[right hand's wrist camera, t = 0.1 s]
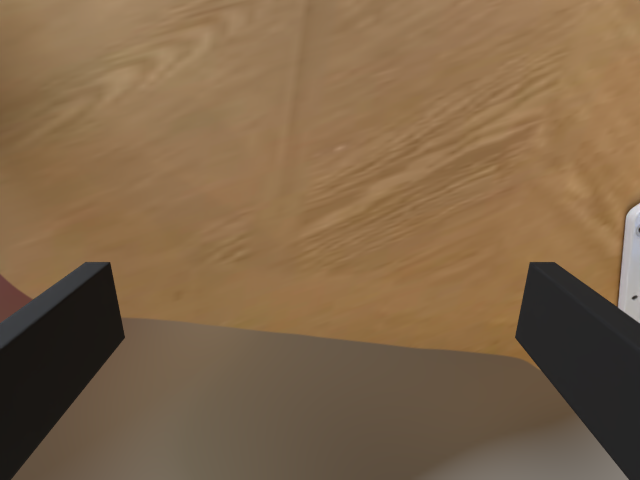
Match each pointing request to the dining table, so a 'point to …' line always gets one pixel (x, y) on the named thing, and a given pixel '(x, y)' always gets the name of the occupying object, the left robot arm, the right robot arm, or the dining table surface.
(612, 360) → the right robot arm
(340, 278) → the dining table surface
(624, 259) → the left robot arm
